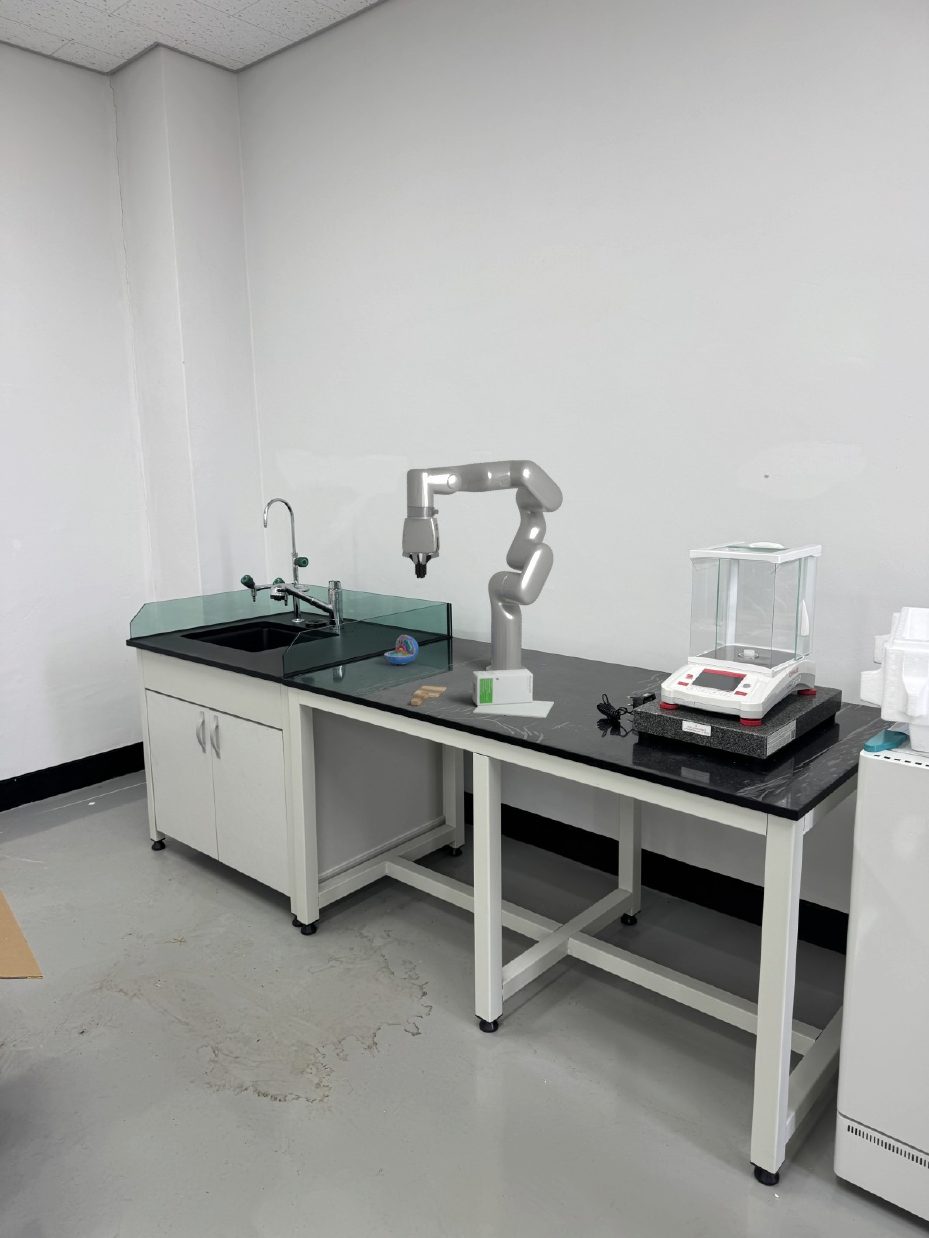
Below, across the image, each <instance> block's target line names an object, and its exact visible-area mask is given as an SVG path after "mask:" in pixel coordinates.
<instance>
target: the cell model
mask: <svg viewBox="0 0 929 1238" xmlns="http://www.w3.org/2000/svg"><path fill="white" fill-rule="evenodd" d="M419 651H420V649H419V644H418V642H417V641H416V639H415V638H414V637H412V636H410V635H407V634H401V635H399V637H398V638H397V639H396V641H395V649H394V650H392V651H387V652H385V653H384V654H383V655H384V657H385V659H386V660H387V661H388V662H389V663H391V664H393V663H396V664H402V663H408V662H410V663H411V661H412V662H413V661H414V660H415V659H417V656H418V654H419ZM396 664H395V665H396ZM408 664H409V663H408Z"/></svg>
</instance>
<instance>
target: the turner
mask: <svg viewBox="0 0 929 1238" xmlns="http://www.w3.org/2000/svg"><path fill="white" fill-rule="evenodd" d="M447 688H448V687H447V686H436V685H422V686H421V687H419V688H418V689H417V690H416V691H414V693H412V696H413V697H414V698H412V699H411V700H410V705H411V706H420V705H421V704H422V703H423V702H424V701H425V700H426V699H428V698H429V697H430V698H438V697H439V696H440V695H442V694H443V693H444V692H445V691H446V690H447ZM443 691H444V692H443Z"/></svg>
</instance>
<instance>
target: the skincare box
mask: <svg viewBox="0 0 929 1238" xmlns="http://www.w3.org/2000/svg"><path fill="white" fill-rule="evenodd" d="M533 681H534V674H533V673H532V672H531V671H530V670H529V669H528V668H526V669H518V670H497V671H486V670H479V671H478V670H477V671H472V700H473V702H474V703H475V705H476V706H477V707H478V706H479V705H495V704H512V703H530V702H532V700H533Z"/></svg>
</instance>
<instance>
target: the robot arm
mask: <svg viewBox="0 0 929 1238" xmlns="http://www.w3.org/2000/svg"><path fill="white" fill-rule="evenodd" d="M511 489H516V493H515V503H516V505H517V508H518V512H519V517H520V520H519V521H520V523H519V527H518V528H517V532H516V534H515V535H514V538H513V539H512V542H511V544H510V546H509V548H508V551H507V553H506V556H505V557H506V558H505V560H506V564H507V566H508V567H509V568H511V569H512V570H515V571H516V572H515V571H511V570H510V571H508V570H503V571H502V570H501V571H497V572H496V573H494V574H493V575H492V576H491V577H490V579H489V581H488V585H487V586H488V588H487V590H488V596H489V600H490V601H489V602H490V603H489V604H490V615H491V617H490V618H491V619H490V621H491V622H490V665H488V666H486V667H485V671H497V670H518V669H527V667H526V666H524V665H522V636H523V634H522V632H523V631H522V629H523V626H522V625H523V624H522V623H523V617H522V616H523V615H522V609H521V606H530V605H533V603H535V602H536V601H537V599H538V598H539V596H540V594H541V593H542V590H543V588H544V586H545V584H546V582H547V579H548V577H549V575H550V573H551V570H552V568H553V566H554V565H553V564H554V553H553V549H552V547H551V546H549V545H548V544H546V543H545V542H543V541H544V538H545V536H546V533H547V524H546V519H545V515H544V513H553V512H556V511H557V510H558V509H560V508H561V506H562V505H563V504H562V503H563V498H564V497H563V493H562V490H561V488H560V486H559V485H558V484H557V482H555V480H554V479H552V478H551V477H550V475H549V474H548V473H547V472H546V471H545V470H544V469H543V468H542V467H541V466H540V465H538V464H537V463H536V462H534V461H533V460H529V459H516V460H511V459H509V460H499V461H490V462H489V461H486V462H485V461H484V462H477V463H476V462H474V463H468V464H467V463H466V464H461V465H452V466H451V465H450V466H441V467H440V466H437V467H428V468H411V469H409V470H407V473H406V517H405V518H404V521H403V529H402V535H401V536H402V538H401V539H402V540H401V542H402V543H401V546H402V547H401V548H402V549H401V550H402V554H401V556H402V557H404V558H406V559H410V560H411V561H412V562H413V564H414V575H415V576H416V579H424V578H426V576H427V574H428V572H427V565H428V564H429V562H430V561H431V560H432V559H435V558H439V557H440V553H439V551H440V549H441V543H440V542H441V541H440V530H439V523H438V519H437V517H435V515H438V514H439V512H440V511H439V509H438V508H437V509H436V508H435V506H434V505H435V504H434V503H435V502H434V501H435V500H434V498H435V497H434V495H443V496H449V495H453V494H455V493H457V492H463V493H464V492H466V493H468V492H469V493H485V492H492V491H502V490H503V491H504V490H511ZM420 554H422V555H421V557H420ZM517 571H519V572H517Z"/></svg>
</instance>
